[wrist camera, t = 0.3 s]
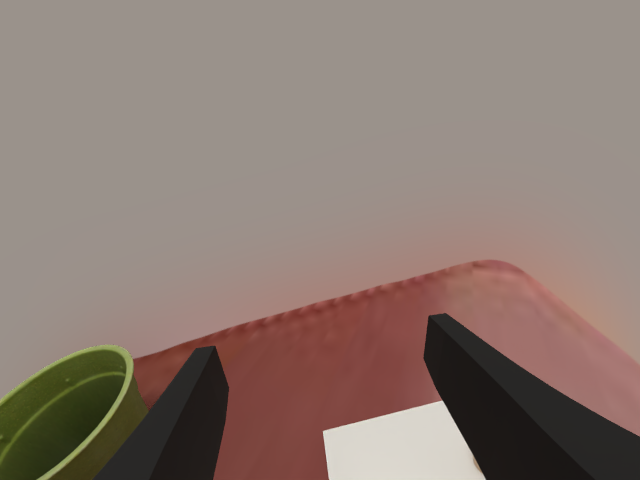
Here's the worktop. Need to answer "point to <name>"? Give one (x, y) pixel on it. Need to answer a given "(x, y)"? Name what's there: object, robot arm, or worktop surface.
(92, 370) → the plant pot
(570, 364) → the worktop surface
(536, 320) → the worktop surface
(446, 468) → the plate
